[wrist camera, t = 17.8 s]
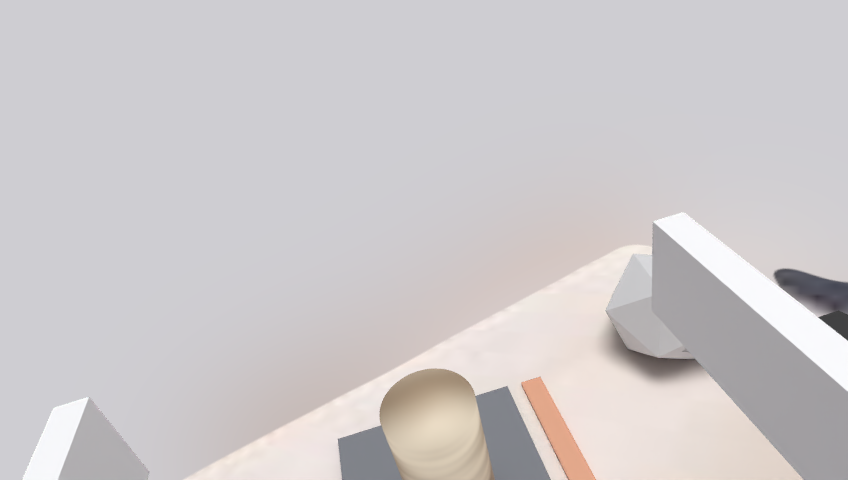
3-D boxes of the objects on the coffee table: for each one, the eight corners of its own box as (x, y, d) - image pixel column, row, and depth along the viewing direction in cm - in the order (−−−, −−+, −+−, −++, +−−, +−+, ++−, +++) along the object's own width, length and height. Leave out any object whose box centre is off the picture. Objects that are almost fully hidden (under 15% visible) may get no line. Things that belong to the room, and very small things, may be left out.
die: (670, 407, 42) (761, 313, 38) (573, 336, 44) (649, 239, 40) (676, 360, 49) (753, 277, 45) (592, 301, 51) (658, 216, 47)
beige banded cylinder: (516, 552, 35) (488, 428, 28) (436, 581, 34) (388, 462, 28) (489, 480, 39) (460, 357, 32) (417, 504, 39) (372, 385, 32)
